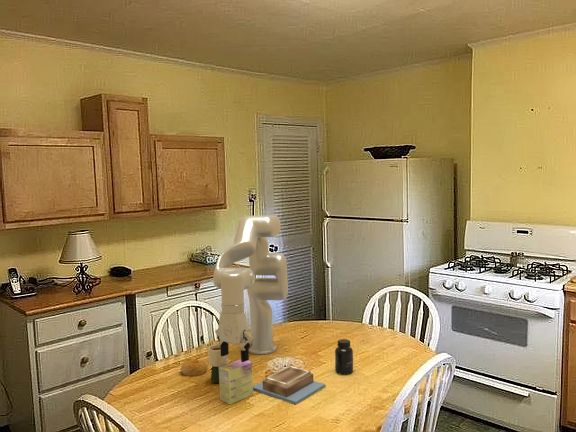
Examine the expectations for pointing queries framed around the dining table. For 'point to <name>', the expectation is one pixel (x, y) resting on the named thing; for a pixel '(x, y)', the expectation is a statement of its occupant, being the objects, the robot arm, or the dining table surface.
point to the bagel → (194, 367)
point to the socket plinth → (288, 381)
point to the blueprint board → (295, 397)
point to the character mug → (216, 361)
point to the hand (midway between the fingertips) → (234, 358)
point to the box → (235, 381)
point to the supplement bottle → (344, 357)
